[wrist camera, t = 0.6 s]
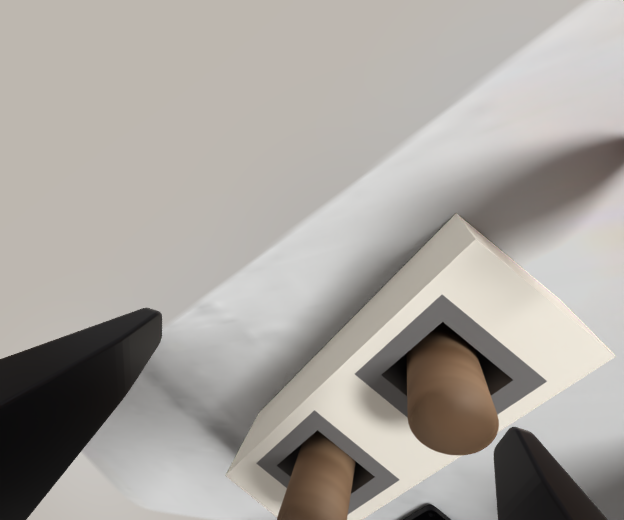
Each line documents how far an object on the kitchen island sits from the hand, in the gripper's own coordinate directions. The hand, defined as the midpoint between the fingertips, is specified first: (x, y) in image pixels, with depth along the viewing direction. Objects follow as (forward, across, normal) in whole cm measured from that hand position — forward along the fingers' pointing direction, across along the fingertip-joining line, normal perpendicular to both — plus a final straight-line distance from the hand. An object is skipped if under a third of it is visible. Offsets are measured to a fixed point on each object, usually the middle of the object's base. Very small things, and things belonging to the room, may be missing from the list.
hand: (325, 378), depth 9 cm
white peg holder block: (+13, -4, +11) cm, 18 cm away
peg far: (+9, -2, +15) cm, 18 cm away
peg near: (+11, -6, +6) cm, 14 cm away
